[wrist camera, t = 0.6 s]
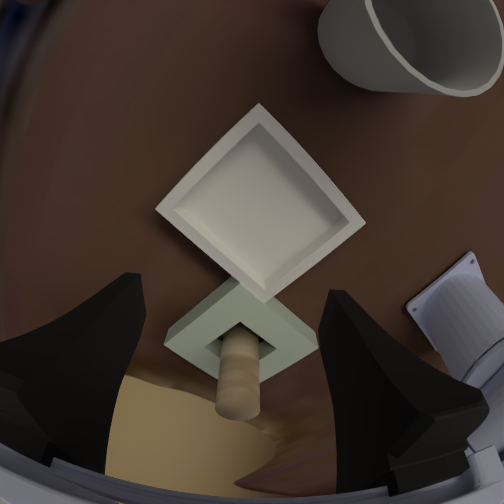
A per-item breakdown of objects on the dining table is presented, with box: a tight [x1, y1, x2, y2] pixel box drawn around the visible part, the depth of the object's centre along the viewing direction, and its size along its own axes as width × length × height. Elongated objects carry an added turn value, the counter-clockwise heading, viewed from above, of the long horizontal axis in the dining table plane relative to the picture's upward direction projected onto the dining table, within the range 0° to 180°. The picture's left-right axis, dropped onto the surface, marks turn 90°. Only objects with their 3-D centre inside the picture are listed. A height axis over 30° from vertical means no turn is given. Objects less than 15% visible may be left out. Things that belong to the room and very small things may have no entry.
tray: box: [156, 103, 366, 303], centre depth 19 cm, size 10×9×2 cm
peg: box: [215, 322, 260, 421], centre depth 22 cm, size 3×3×8 cm
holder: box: [164, 276, 318, 383], centre depth 25 cm, size 9×9×2 cm
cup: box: [317, 0, 504, 97], centre depth 10 cm, size 7×10×9 cm
